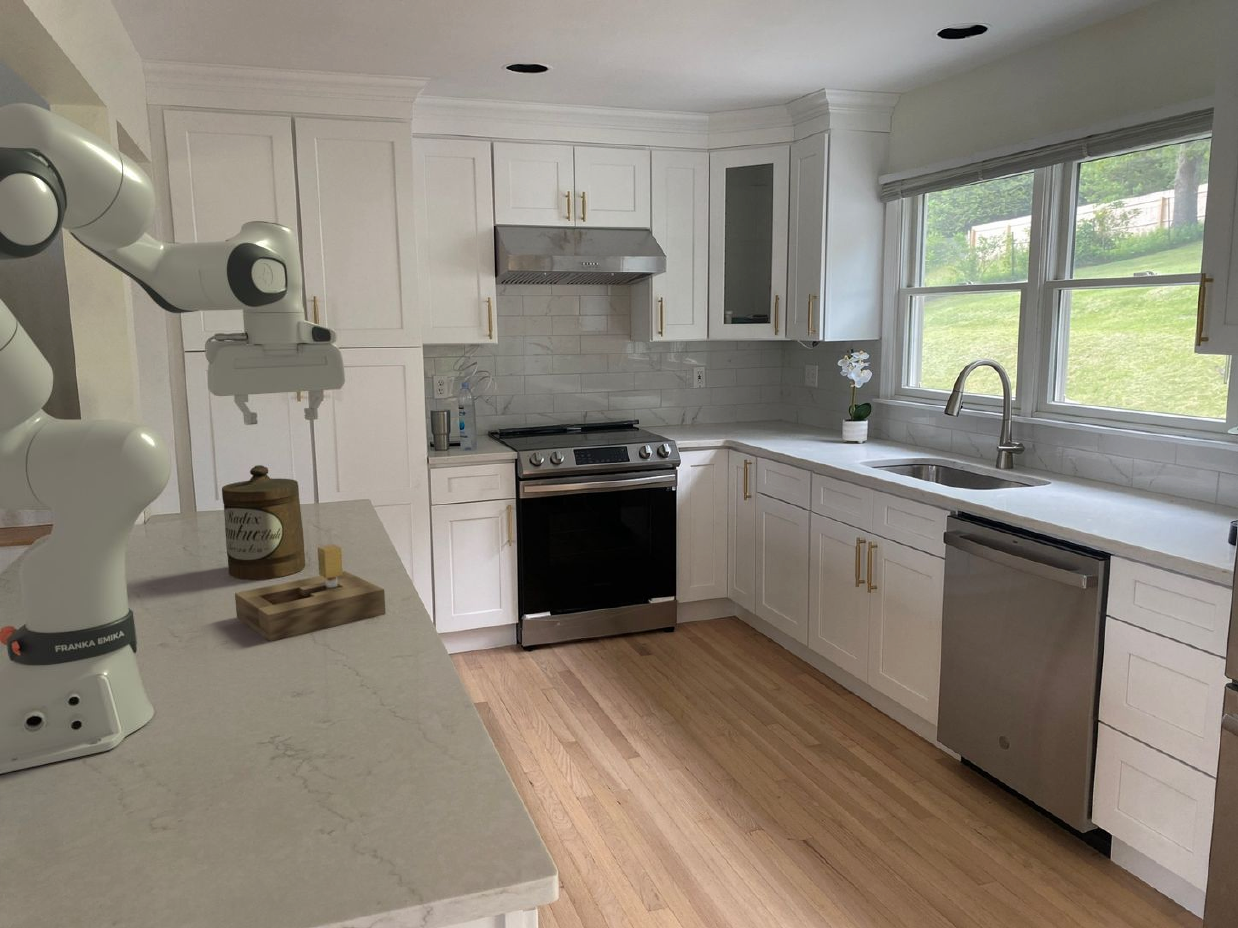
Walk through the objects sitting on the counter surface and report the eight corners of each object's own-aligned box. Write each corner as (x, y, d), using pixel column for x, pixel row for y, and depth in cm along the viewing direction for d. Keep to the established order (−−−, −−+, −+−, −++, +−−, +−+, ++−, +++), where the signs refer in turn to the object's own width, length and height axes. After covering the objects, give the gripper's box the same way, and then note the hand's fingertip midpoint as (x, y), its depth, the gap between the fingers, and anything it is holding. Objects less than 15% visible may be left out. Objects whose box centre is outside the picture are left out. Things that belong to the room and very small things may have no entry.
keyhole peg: (324, 611, 153) (321, 552, 151) (313, 604, 156) (309, 547, 155) (352, 605, 156) (348, 547, 154) (340, 598, 160) (337, 542, 158)
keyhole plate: (270, 641, 141) (268, 614, 140) (236, 617, 153) (234, 592, 152) (385, 613, 154) (384, 589, 153) (346, 593, 166) (345, 570, 165)
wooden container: (212, 578, 178) (203, 470, 174) (259, 559, 192) (251, 459, 188) (277, 582, 174) (269, 472, 171) (319, 562, 188) (312, 461, 185)
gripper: (210, 333, 126) (218, 429, 128) (346, 331, 140) (351, 418, 142) (197, 333, 131) (205, 425, 133) (330, 331, 144) (335, 415, 146)
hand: (281, 421), depth 138 cm, fingers open, 8 cm apart
